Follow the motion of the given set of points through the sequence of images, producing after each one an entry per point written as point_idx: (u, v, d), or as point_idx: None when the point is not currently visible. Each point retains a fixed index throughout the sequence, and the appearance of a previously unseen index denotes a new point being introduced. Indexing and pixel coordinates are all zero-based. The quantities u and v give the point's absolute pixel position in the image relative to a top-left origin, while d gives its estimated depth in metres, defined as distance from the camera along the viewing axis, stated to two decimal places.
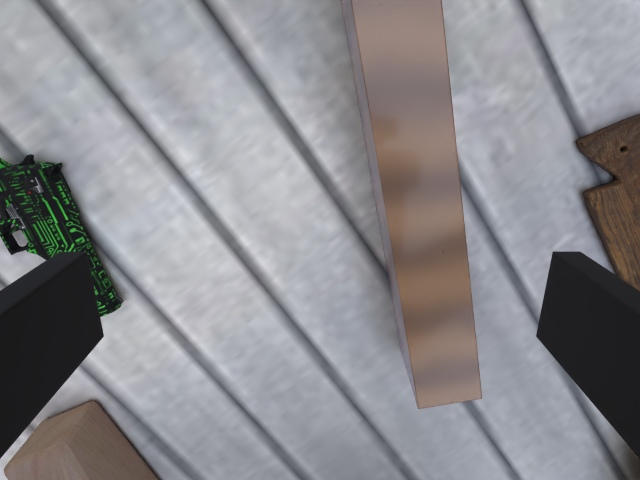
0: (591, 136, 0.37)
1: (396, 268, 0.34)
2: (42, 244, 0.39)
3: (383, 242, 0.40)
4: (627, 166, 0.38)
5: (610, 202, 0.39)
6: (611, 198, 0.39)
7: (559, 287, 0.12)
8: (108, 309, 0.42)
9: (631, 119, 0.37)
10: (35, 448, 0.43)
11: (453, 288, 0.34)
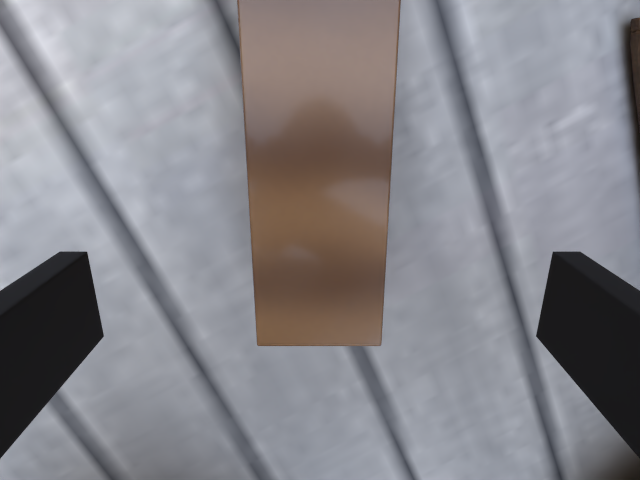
0: None
1: (240, 1, 0.15)
2: None
3: None
4: None
5: None
6: None
7: (559, 287, 0.12)
8: None
9: None
10: None
11: (358, 83, 0.16)
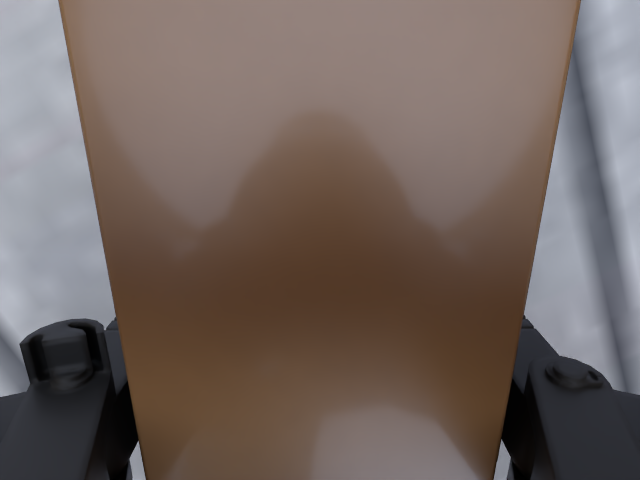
0: None
1: None
2: None
3: None
4: None
5: None
6: None
7: None
8: None
9: None
10: None
11: (445, 89, 0.05)
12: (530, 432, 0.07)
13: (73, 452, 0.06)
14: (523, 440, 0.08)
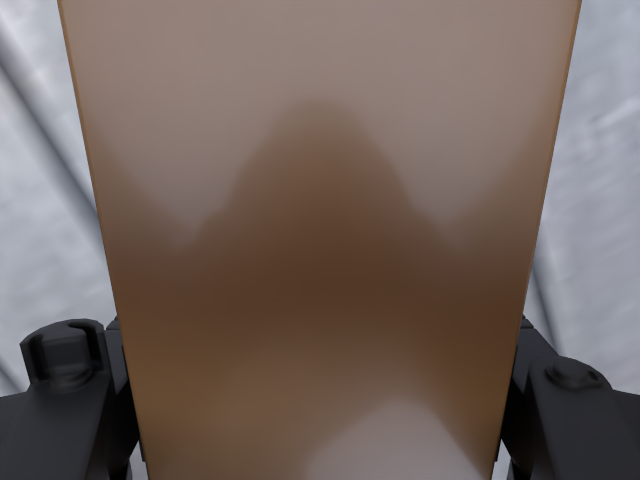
0: None
1: None
2: None
3: None
4: None
5: None
6: None
7: None
8: None
9: None
10: None
11: (445, 90, 0.05)
12: (530, 432, 0.07)
13: (73, 452, 0.06)
14: (523, 440, 0.08)
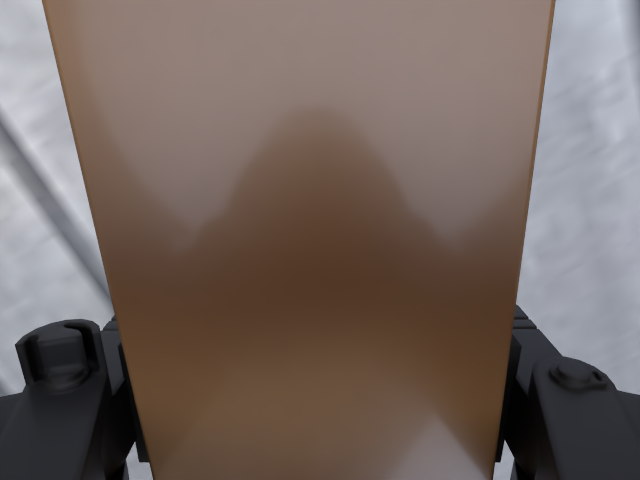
0: None
1: None
2: None
3: None
4: None
5: None
6: None
7: None
8: None
9: None
10: None
11: (427, 79, 0.05)
12: (534, 433, 0.07)
13: (69, 453, 0.06)
14: (527, 441, 0.08)
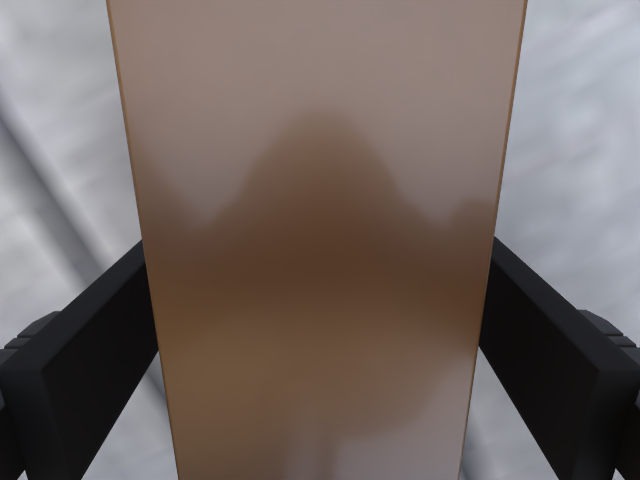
0: None
1: None
2: None
3: None
4: None
5: None
6: None
7: None
8: None
9: None
10: None
11: (418, 94, 0.06)
12: None
13: None
14: None
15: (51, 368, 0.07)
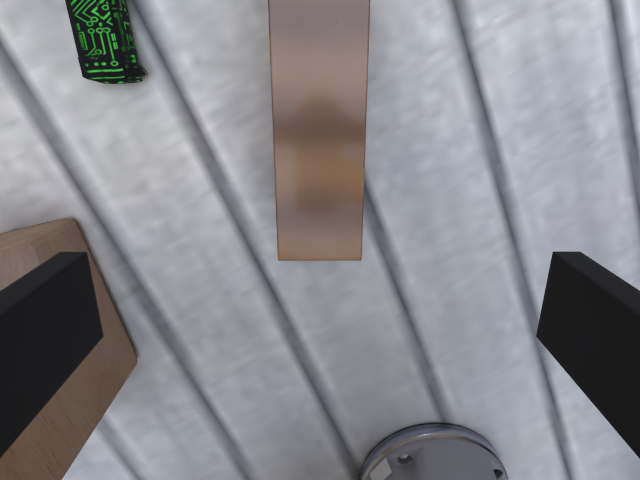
0: None
1: (271, 34, 0.24)
2: None
3: None
4: None
5: None
6: None
7: (559, 287, 0.12)
8: (127, 75, 0.31)
9: None
10: None
11: (343, 84, 0.25)
12: None
13: None
14: None
15: None
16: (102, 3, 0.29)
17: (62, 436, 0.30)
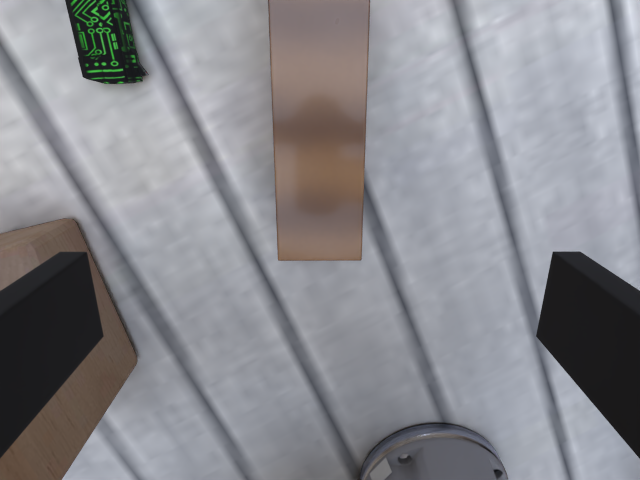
0: None
1: (271, 34, 0.24)
2: None
3: None
4: None
5: None
6: None
7: (559, 287, 0.12)
8: (127, 76, 0.31)
9: None
10: None
11: (343, 84, 0.25)
12: None
13: None
14: None
15: None
16: (102, 3, 0.29)
17: (62, 436, 0.30)
